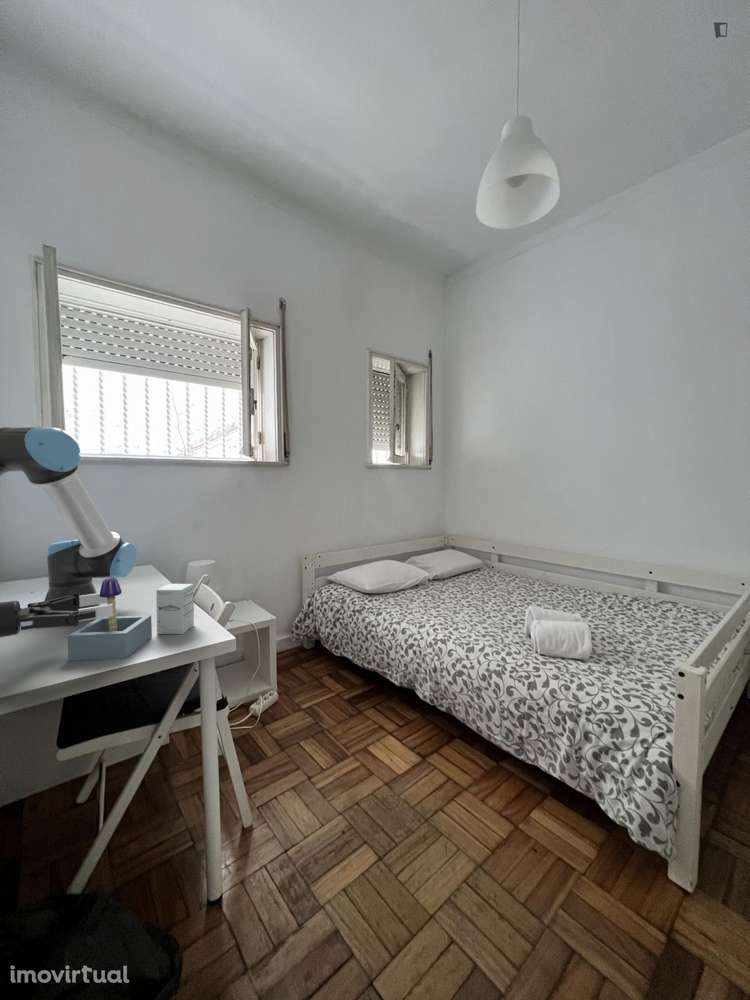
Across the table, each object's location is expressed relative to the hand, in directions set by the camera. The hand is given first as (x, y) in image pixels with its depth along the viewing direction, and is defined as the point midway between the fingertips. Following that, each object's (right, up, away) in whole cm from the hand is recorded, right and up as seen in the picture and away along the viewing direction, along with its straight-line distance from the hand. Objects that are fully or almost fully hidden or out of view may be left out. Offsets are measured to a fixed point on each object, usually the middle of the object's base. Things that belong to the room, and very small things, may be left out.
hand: (111, 603), depth 98 cm
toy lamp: (0, -11, +1) cm, 11 cm away
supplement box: (+10, -11, +13) cm, 20 cm away
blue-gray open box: (0, -12, +1) cm, 12 cm away
